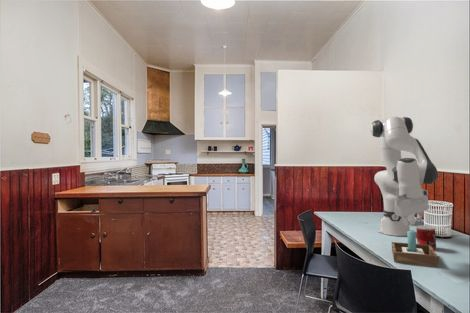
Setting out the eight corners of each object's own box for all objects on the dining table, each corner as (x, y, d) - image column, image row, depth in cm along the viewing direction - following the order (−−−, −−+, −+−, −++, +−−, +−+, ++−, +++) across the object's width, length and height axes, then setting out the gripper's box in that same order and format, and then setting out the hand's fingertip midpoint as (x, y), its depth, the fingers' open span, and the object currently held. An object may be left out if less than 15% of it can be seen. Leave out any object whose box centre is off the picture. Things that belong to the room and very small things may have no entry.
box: (392, 251, 134) (391, 241, 134) (431, 255, 126) (430, 245, 126) (394, 263, 119) (393, 252, 120) (438, 268, 112) (437, 256, 112)
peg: (407, 256, 125) (405, 230, 125) (414, 256, 124) (413, 230, 125) (410, 259, 122) (409, 232, 122) (418, 259, 121) (416, 232, 122)
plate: (402, 254, 128) (401, 246, 128) (422, 256, 125) (421, 248, 125) (403, 259, 121) (403, 252, 121) (425, 262, 117) (424, 254, 118)
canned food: (430, 252, 131) (429, 229, 131) (414, 247, 138) (412, 226, 138) (440, 249, 134) (438, 227, 134) (423, 245, 141) (422, 224, 142)
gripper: (403, 196, 116) (406, 228, 116) (430, 190, 125) (433, 220, 125) (389, 195, 122) (392, 226, 121) (415, 190, 131) (418, 218, 130)
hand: (413, 223), depth 123 cm, fingers open, 8 cm apart
